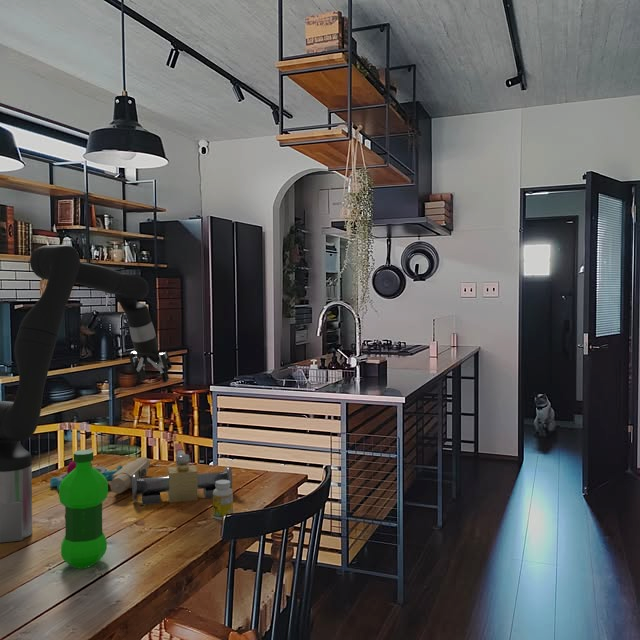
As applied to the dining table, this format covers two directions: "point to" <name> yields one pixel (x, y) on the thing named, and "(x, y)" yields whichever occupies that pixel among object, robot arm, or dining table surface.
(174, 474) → the pipe valve
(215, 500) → the supplement bottle
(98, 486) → the plastic bottle
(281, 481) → the dining table surface
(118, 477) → the butterfly valve
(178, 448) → the valve lever
